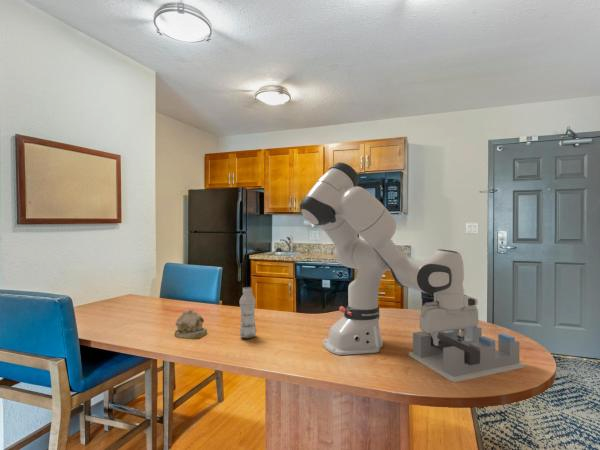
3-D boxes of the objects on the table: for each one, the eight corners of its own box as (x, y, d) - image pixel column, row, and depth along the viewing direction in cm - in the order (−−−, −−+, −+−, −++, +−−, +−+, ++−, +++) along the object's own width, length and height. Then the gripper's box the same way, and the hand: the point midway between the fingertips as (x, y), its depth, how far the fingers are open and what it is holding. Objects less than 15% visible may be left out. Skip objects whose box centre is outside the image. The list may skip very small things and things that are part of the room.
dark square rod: (470, 365, 94) (470, 353, 94) (423, 341, 113) (423, 331, 113) (479, 363, 95) (479, 351, 95) (431, 340, 114) (431, 330, 114)
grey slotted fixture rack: (453, 382, 92) (453, 349, 92) (408, 355, 111) (408, 327, 111) (524, 367, 101) (524, 337, 101) (472, 344, 120) (472, 319, 120)
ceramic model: (168, 336, 134) (167, 312, 133) (187, 328, 144) (187, 305, 144) (195, 340, 128) (195, 315, 128) (213, 331, 138) (213, 308, 138)
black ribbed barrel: (421, 321, 148) (420, 288, 148) (421, 315, 158) (421, 284, 157) (444, 323, 145) (444, 290, 145) (443, 317, 154) (443, 286, 154)
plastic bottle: (259, 335, 132) (258, 286, 132) (250, 341, 126) (249, 290, 126) (246, 333, 135) (245, 285, 135) (236, 339, 129) (235, 288, 129)
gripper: (428, 305, 98) (428, 351, 98) (481, 299, 104) (482, 342, 104) (414, 300, 104) (415, 343, 104) (466, 295, 110) (466, 335, 110)
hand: (449, 343), depth 104 cm, fingers open, 8 cm apart
